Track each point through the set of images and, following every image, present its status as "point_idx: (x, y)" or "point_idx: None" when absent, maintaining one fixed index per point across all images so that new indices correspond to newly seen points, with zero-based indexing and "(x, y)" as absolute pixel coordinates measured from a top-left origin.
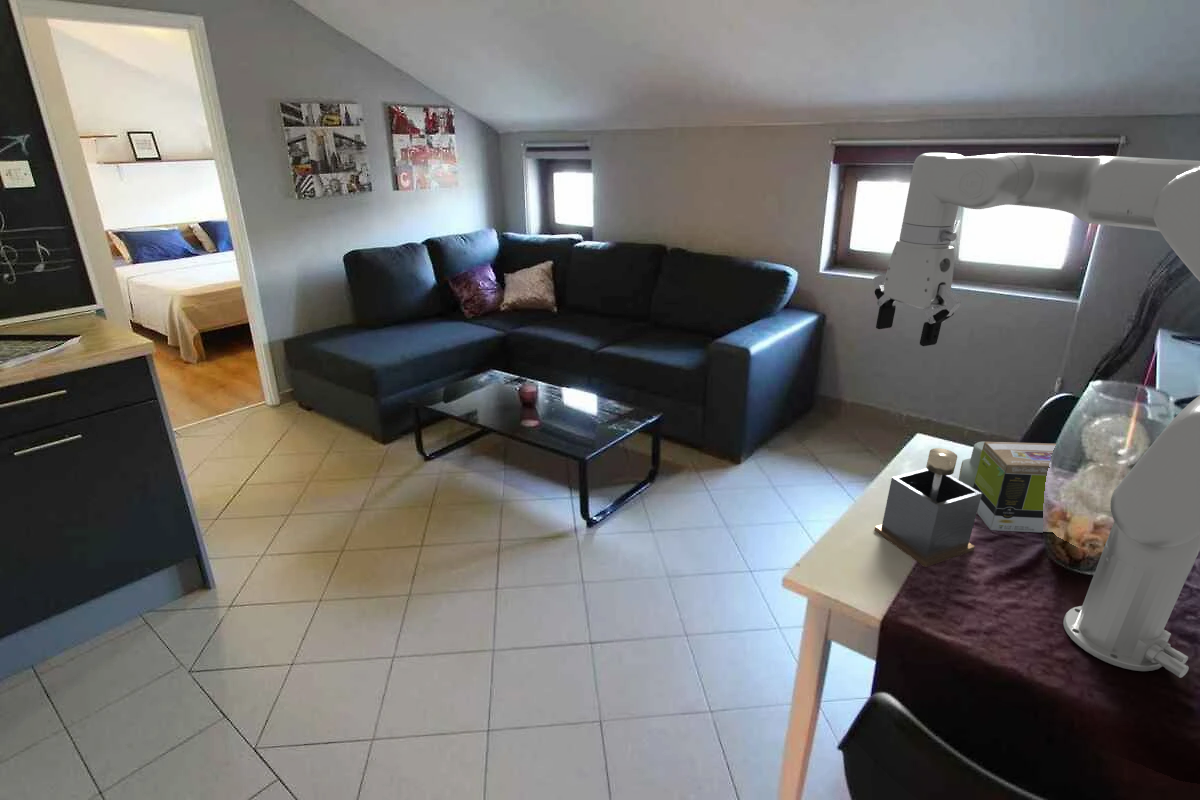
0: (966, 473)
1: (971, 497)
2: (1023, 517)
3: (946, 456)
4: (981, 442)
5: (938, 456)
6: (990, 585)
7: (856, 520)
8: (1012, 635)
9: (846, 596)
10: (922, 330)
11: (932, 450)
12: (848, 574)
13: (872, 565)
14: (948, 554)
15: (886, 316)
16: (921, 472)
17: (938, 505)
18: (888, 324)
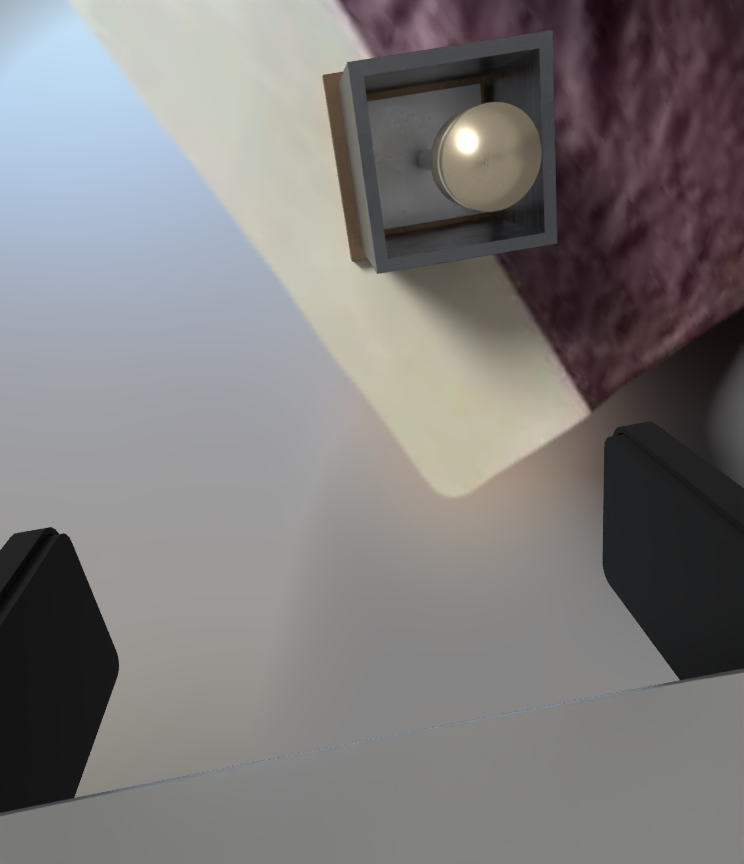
0: None
1: (551, 88)
2: None
3: (511, 161)
4: None
5: (501, 194)
6: (611, 124)
7: (299, 276)
8: (730, 209)
9: (525, 445)
10: (678, 673)
11: (453, 180)
12: (473, 409)
13: (464, 345)
14: None
15: (57, 719)
16: (371, 143)
17: (555, 242)
18: (70, 596)
